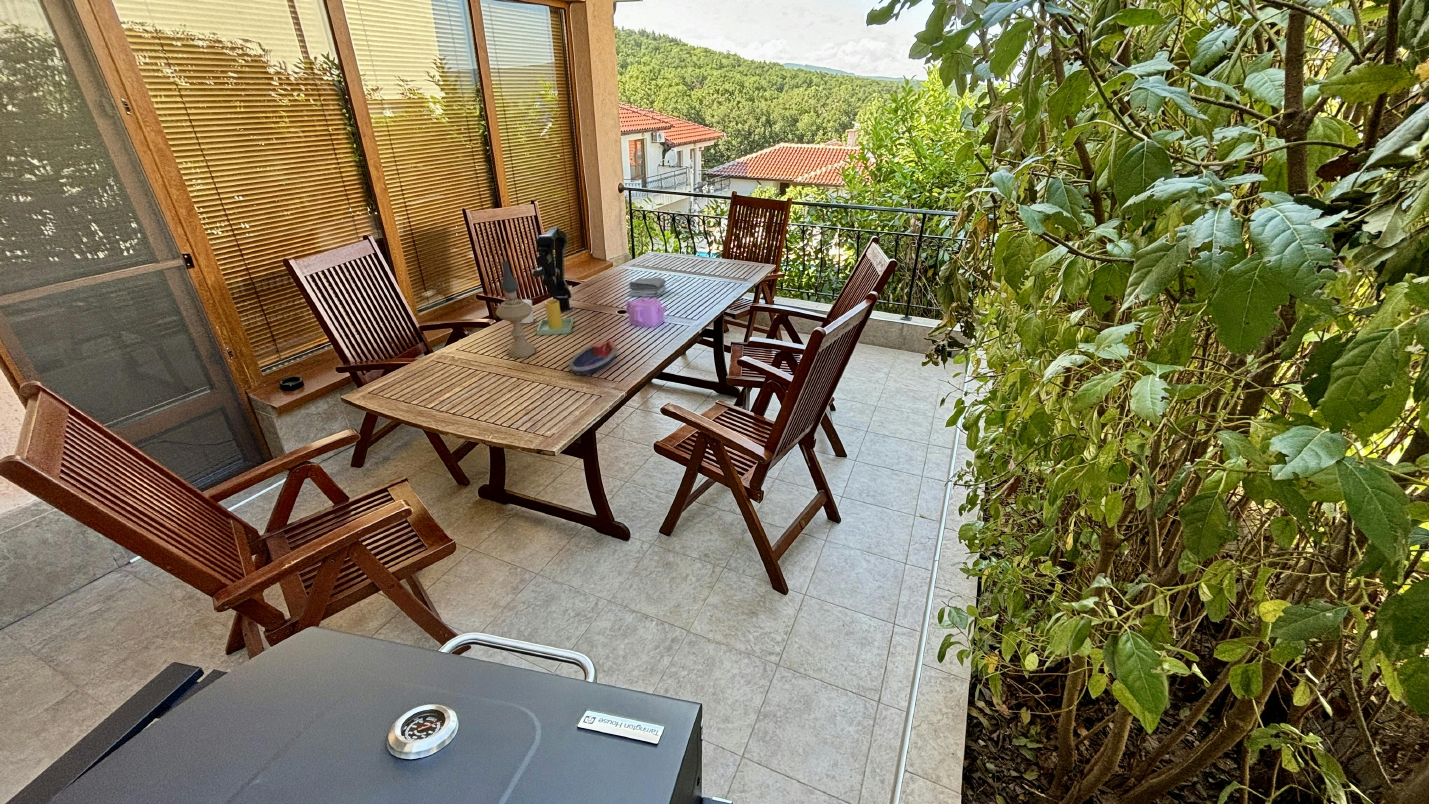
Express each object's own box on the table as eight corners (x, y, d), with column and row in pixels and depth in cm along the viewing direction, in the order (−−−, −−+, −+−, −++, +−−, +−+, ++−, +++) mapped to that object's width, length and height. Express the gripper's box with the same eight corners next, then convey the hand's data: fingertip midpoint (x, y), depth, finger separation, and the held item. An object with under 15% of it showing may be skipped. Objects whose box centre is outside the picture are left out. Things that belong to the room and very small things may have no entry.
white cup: (537, 318, 302) (534, 299, 298) (531, 324, 295) (528, 304, 291) (522, 318, 303) (518, 299, 298) (516, 323, 296) (512, 304, 291)
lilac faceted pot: (625, 319, 297) (623, 295, 292) (657, 314, 303) (656, 291, 298) (635, 330, 283) (633, 305, 278) (669, 325, 289) (667, 300, 284)
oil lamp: (496, 356, 258) (477, 265, 240) (518, 344, 271) (501, 256, 252) (526, 360, 254) (508, 267, 235) (546, 348, 266) (531, 258, 248)
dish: (559, 376, 239) (557, 364, 237) (598, 348, 264) (596, 337, 262) (593, 380, 234) (591, 369, 232) (629, 352, 260) (628, 341, 257)
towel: (659, 297, 329) (658, 283, 326) (627, 296, 333) (626, 282, 329) (666, 289, 342) (666, 276, 339) (636, 288, 346) (635, 275, 342)
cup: (561, 324, 292) (557, 298, 286) (564, 328, 287) (560, 302, 281) (547, 326, 290) (543, 300, 284) (550, 330, 284) (546, 304, 278)
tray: (542, 324, 295) (541, 319, 293) (573, 322, 296) (572, 317, 295) (537, 335, 281) (536, 330, 280) (569, 333, 282) (569, 328, 281)
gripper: (534, 258, 297) (539, 288, 304) (528, 267, 280) (533, 299, 287) (557, 257, 297) (562, 287, 305) (552, 266, 281) (557, 298, 288)
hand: (553, 293), depth 296 cm, fingers open, 9 cm apart
